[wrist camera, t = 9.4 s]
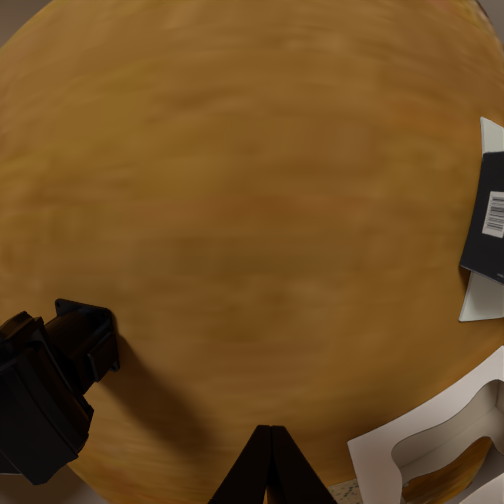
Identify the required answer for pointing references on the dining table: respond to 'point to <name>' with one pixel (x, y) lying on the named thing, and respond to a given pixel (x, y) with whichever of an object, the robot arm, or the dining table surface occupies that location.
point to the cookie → (349, 492)
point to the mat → (479, 288)
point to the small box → (488, 222)
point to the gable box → (435, 437)
